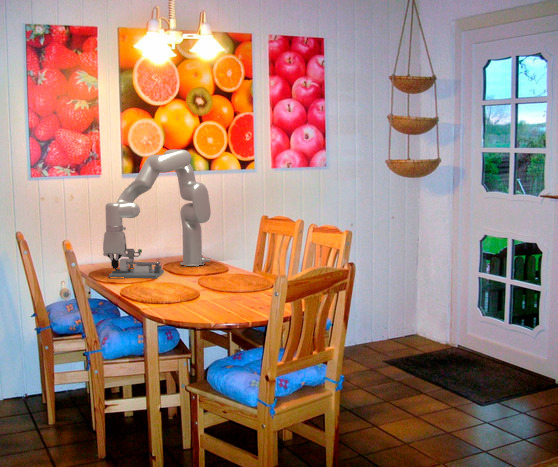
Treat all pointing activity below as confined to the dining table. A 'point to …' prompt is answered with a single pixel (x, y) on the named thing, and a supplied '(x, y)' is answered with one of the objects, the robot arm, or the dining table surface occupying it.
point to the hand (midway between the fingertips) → (115, 268)
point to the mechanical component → (132, 255)
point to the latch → (124, 264)
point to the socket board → (130, 274)
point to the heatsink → (142, 269)
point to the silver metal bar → (145, 263)
